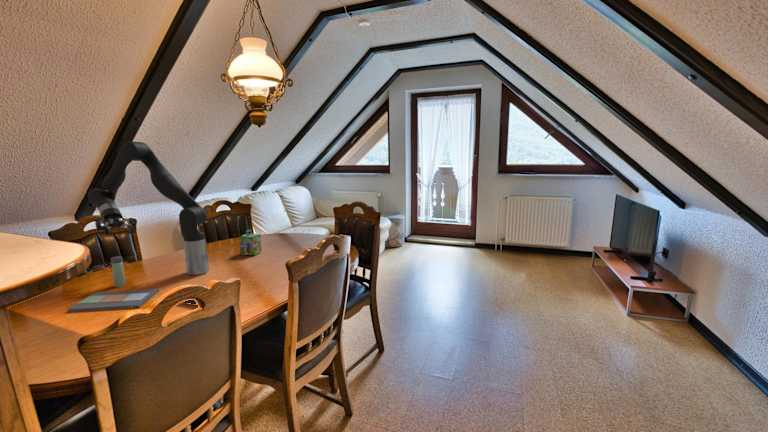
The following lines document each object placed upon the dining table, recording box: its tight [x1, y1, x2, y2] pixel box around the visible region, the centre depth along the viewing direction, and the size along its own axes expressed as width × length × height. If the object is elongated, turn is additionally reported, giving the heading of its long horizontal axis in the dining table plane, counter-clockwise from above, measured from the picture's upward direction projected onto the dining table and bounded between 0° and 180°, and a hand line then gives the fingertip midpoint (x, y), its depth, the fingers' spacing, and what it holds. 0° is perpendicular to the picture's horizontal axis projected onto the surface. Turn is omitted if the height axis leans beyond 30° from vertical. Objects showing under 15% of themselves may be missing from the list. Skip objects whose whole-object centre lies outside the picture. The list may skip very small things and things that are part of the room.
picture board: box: [67, 288, 160, 313], centre depth 135 cm, size 24×16×1 cm, turn 101°
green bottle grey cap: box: [110, 255, 126, 288], centre depth 150 cm, size 4×4×13 cm
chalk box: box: [238, 228, 262, 256], centre depth 201 cm, size 9×9×15 cm
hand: (120, 232), depth 153 cm, fingers open, 8 cm apart
